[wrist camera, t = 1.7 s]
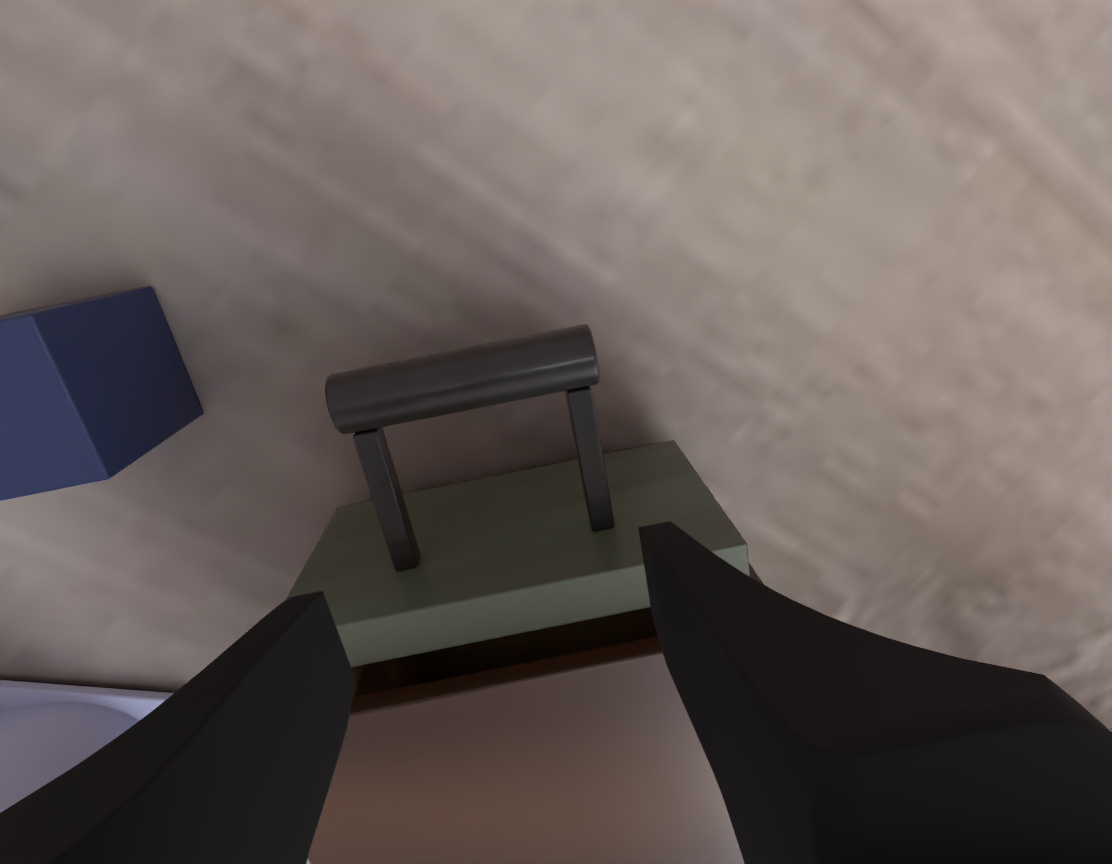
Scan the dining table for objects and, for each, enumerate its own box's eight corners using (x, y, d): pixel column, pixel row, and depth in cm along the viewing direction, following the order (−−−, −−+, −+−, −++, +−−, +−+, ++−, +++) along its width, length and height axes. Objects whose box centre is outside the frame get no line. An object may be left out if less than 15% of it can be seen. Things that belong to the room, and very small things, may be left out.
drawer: (284, 353, 18) (172, 428, 12) (653, 279, 19) (727, 318, 12) (432, 786, 24) (408, 983, 18) (711, 729, 25) (780, 907, 18)
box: (204, 414, 20) (109, 479, 15) (65, 441, 20) (-74, 515, 15) (152, 285, 18) (30, 313, 14) (3, 315, 18) (-171, 353, 14)
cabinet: (341, 545, 22) (250, 735, 14) (691, 476, 22) (793, 625, 14) (437, 819, 26) (407, 1076, 18) (725, 761, 26) (816, 992, 19)
